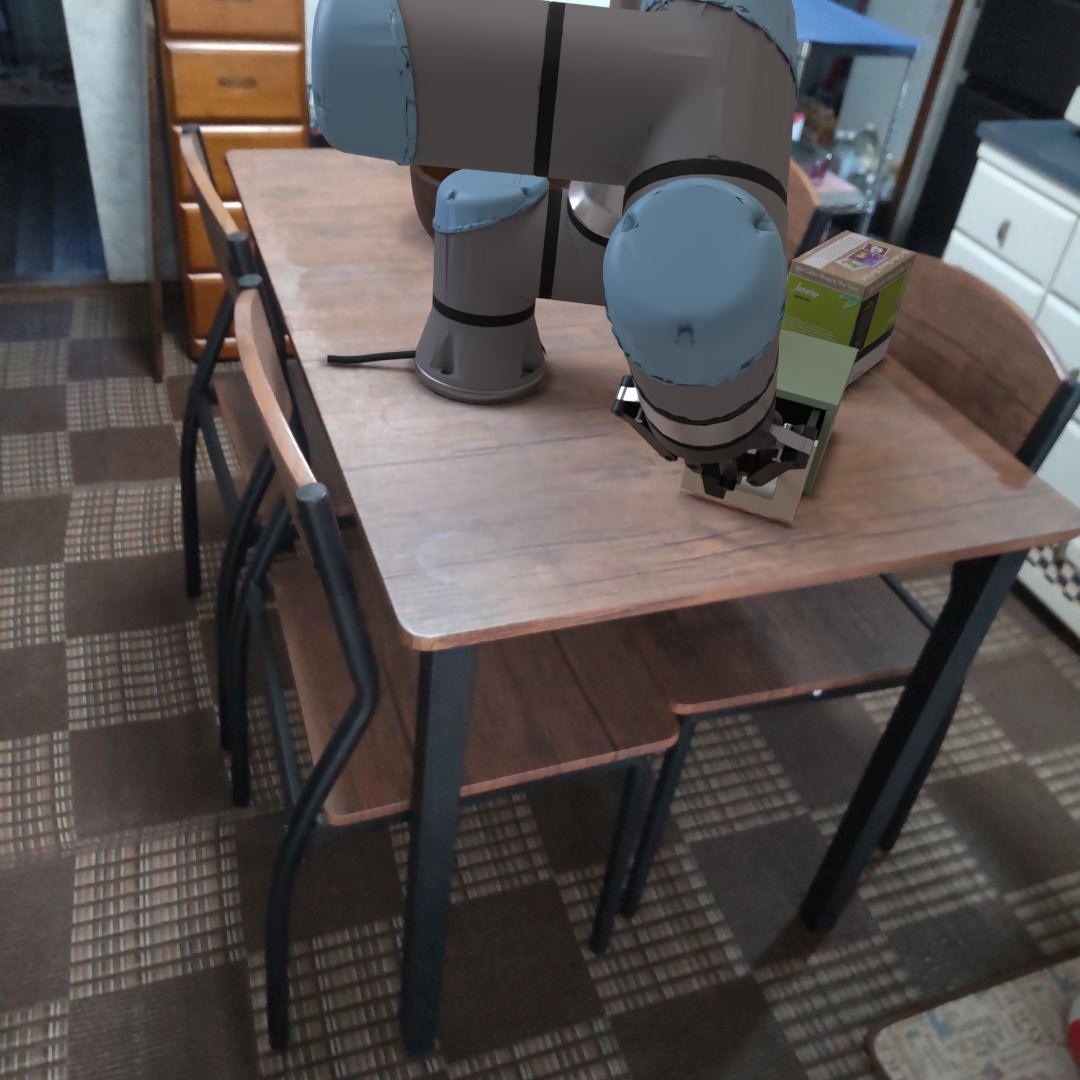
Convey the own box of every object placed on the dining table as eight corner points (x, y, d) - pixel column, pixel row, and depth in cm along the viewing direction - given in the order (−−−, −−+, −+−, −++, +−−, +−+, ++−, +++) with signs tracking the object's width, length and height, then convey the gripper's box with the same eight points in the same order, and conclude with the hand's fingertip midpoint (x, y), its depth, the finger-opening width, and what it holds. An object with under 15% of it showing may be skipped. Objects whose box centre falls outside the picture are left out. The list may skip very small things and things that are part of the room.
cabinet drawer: (783, 546, 95) (808, 469, 89) (668, 509, 98) (684, 432, 92) (815, 460, 107) (838, 388, 102) (711, 430, 110) (728, 358, 105)
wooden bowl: (560, 279, 141) (569, 207, 134) (389, 252, 142) (389, 180, 136) (583, 218, 160) (591, 153, 154) (431, 195, 162) (433, 129, 156)
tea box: (816, 332, 135) (847, 226, 126) (885, 360, 130) (922, 251, 121) (762, 368, 125) (791, 255, 116) (834, 399, 121) (870, 284, 112)
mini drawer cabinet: (809, 494, 104) (838, 405, 97) (692, 459, 107) (712, 370, 100) (831, 433, 114) (858, 348, 108) (723, 403, 117) (743, 319, 111)
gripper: (846, 349, 53) (817, 459, 76) (617, 290, 56) (656, 412, 79) (802, 480, 52) (787, 551, 75) (573, 412, 56) (624, 500, 78)
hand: (719, 480), depth 77 cm, fingers closed
